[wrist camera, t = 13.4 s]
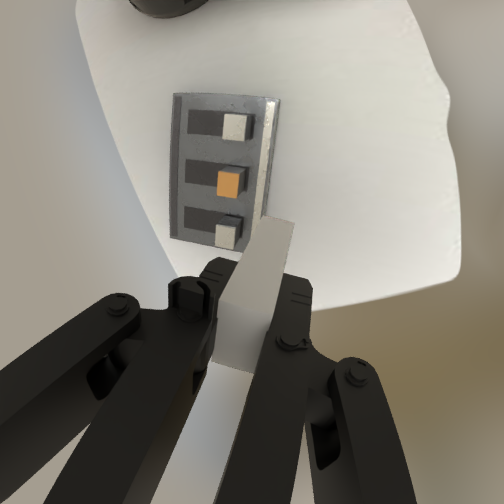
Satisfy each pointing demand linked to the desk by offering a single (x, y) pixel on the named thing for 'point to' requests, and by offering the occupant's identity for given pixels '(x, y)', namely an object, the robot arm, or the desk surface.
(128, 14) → the desk surface
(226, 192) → the toggle
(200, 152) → the panel
